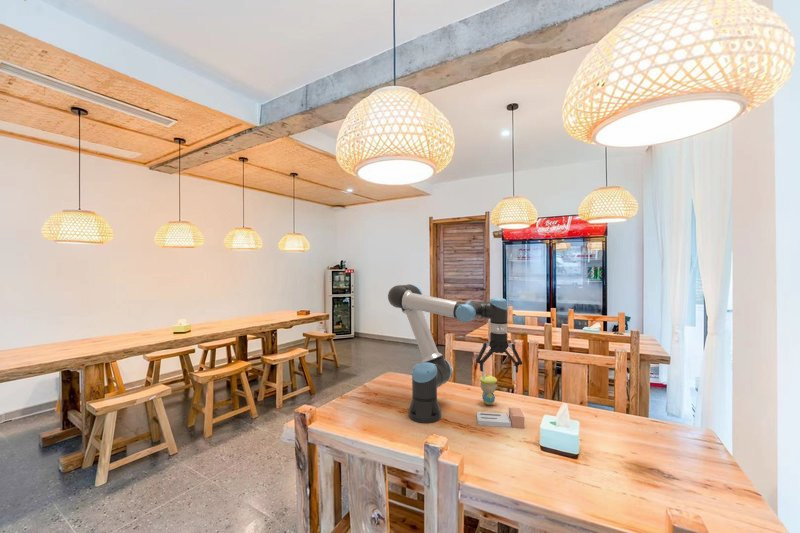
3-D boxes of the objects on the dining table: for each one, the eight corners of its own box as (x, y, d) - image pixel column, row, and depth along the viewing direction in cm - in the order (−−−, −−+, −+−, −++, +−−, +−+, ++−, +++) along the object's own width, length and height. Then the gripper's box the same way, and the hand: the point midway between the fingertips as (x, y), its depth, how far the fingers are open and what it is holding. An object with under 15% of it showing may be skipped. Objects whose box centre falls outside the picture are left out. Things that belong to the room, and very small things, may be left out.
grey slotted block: (478, 425, 140) (477, 420, 140) (476, 416, 149) (476, 411, 149) (511, 427, 138) (511, 422, 138) (507, 418, 147) (507, 413, 147)
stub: (512, 427, 138) (512, 415, 138) (508, 418, 147) (508, 407, 147) (524, 428, 137) (524, 416, 137) (520, 419, 146) (520, 407, 146)
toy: (499, 407, 158) (499, 377, 159) (481, 407, 158) (481, 377, 159) (495, 401, 166) (495, 372, 166) (478, 401, 166) (477, 372, 167)
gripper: (471, 333, 143) (471, 380, 142) (529, 334, 140) (529, 383, 140) (470, 330, 150) (469, 375, 150) (524, 331, 147) (524, 377, 147)
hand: (498, 379), depth 145 cm, fingers open, 13 cm apart
